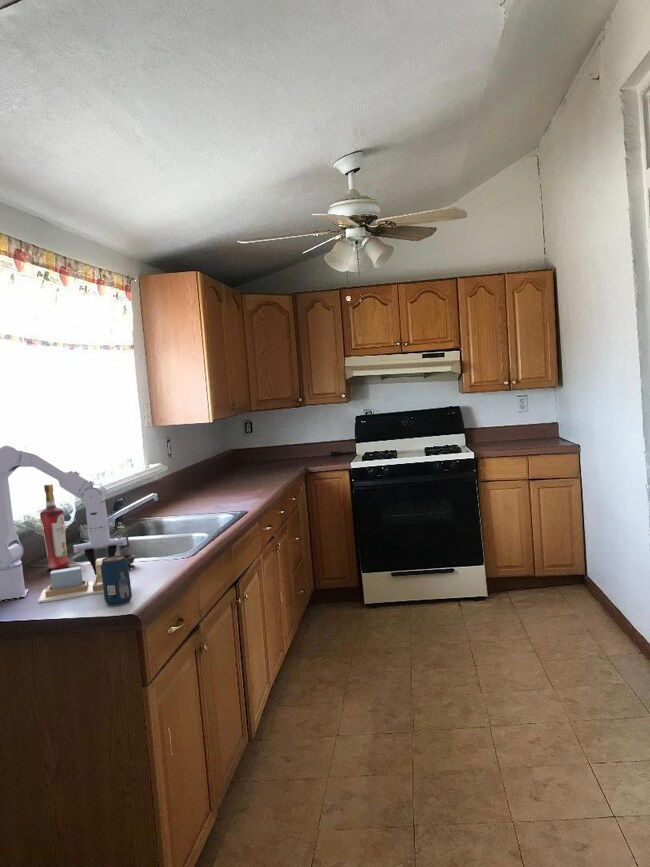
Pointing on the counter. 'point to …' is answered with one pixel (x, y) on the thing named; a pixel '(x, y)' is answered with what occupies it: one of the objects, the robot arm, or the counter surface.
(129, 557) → the salt shaker
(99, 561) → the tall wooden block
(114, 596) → the soda can
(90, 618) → the counter surface
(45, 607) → the counter surface
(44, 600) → the jig
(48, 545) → the liquor
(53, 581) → the light blue block
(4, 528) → the robot arm
